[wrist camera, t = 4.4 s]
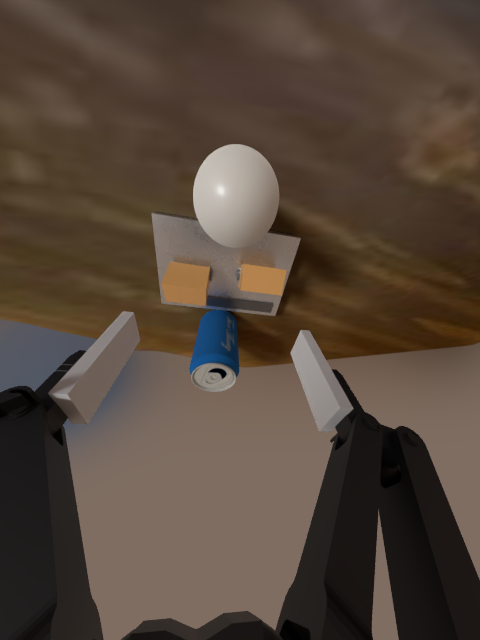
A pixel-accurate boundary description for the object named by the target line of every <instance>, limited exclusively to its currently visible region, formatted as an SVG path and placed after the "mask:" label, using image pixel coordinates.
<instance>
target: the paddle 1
mask: <svg viewBox="0 0 480 640" xmlns="http://www.w3.org/2000/svg"><path fill="white" fill-rule="evenodd" d="M209 281H212V272H211V271H210V267H206V266H198V265H191V264H184V263H177V262H169V265H168V267H167V270H166V273H165V275H164V278H163V281H162V283H161V286H162V289H163V293H164V296H165V300H166V301H167V302H176V303H185V304H194V305H203V306H206V302H207V296H208V290H209Z"/></svg>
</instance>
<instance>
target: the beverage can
mask: <svg viewBox="0 0 480 640" xmlns="http://www.w3.org/2000/svg"><path fill="white" fill-rule="evenodd" d="M190 373H191V379H192V382H193V383H194V385H195V386H196V387H198V388H200V389H202V390H205V391H210V392H218V391H224V390H226V389H229V388H230V387H232V386H233V385H234V383H235V381H236V378H237V376H238V373H239V356H238V333H237V321H236V319H235V317H234V316H233V315H232V314H231V313H229V312H227V311H224V310H212V311H209V312H207V313H206V314H205V315H204V316H203V317H202V319H201V322H200V326H199V330H198V335H197V339H196V343H195V347H194V351H193V356H192V360H191V364H190Z"/></svg>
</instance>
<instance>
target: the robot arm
mask: <svg viewBox="0 0 480 640" xmlns="http://www.w3.org/2000/svg"><path fill="white" fill-rule="evenodd" d="M139 341H140V337H139V333H138V328H137V323H136V319H135V314H134V312H124V311H123V312H122V313H121V314H120V315H119V317H118V318H117V319H116V320H115V321H114V322H113V323H112V324H111V325H110V326H109V327H108V329H107V330H106V331H105V332H104V333H103V334H102V335H101V336H100V337H99V338H98V339H97V341H96V342H95V343H94V344H93V345H92V346H91V347H90V348H89V349H88V350H87V351H82V350H80V351H78V352H76V353H74V354H73V355H71V356H70V357H69V358H67V359H66V361H65V362H64V363H63V364H62V365H61V366H60V367H59V368H58V369H57V370H56V372H54V373H53V374H52V375H51V376H50V377H49V378H48V379H47V380H46V381H45V382H44V383H43V384H42V385H41V386H40V387H39V388H38V389H37V390H36V391H35V392H34V391H33V390H32V389H31V388H30V387H27V386H17V387H13V388H9V389H7V390H5V391H3V392H0V640H103V634H102V628H101V622H100V617H99V613H98V609H97V606H96V604H95V602H94V600H93V599H92V596H91V592H90V587H89V581H88V575H87V568H86V562H85V555H84V549H83V543H82V537H81V530H80V524H79V517H78V512H77V505H76V499H75V492H74V486H73V480H72V474H71V468H70V461H69V454H68V448H67V442H66V435H65V429H64V427H63V424H64V422H65V421H66V420H67V418H68V419H69V421H70V422H71V423H72V424H88V423H89V422H90V420H91V418H92V417H93V415H94V413H95V412H96V410H97V409H98V407H99V405H100V404H101V402H102V401H103V399H104V397H105V396H106V394H107V392H108V391H109V389H110V388H111V386H112V385H113V383H114V381H115V380H116V378H117V376H118V375H119V373H120V372H121V370H122V368H123V367H124V365H125V363H126V362H127V360H128V359H129V357H130V356H131V354H132V352H133V351H134V349H135V348H136V346H137V344H138V343H139ZM291 356H292V359H293V362H294V364H295V367H296V370H297V372H298V375H299V378H300V381H301V383H302V386H303V389H304V391H305V394H306V397H307V399H308V402H309V405H310V408H311V410H312V413H313V416H314V419H315V421H316V424H317V427H318V430H319V431H320V432H331V431H332V430H333V429H334V428H336V430H337V432H338V433H337V434H336V435H335V436H334V437H333V438H332V439H331V441H330V442H333V441H334V443H333V447H332V450H331V454H330V458H329V461H328V464H327V468H326V471H325V475H324V479H323V482H322V486H321V489H320V493H319V496H318V500H317V503H316V507H315V510H314V514H313V517H312V521H311V525H310V528H309V532H308V535H307V539H306V543H305V546H304V550H303V553H302V556H301V560H300V563H299V567H298V570H297V574H296V577H295V580H294V582H293V584H292V585H291V587H290V588H289V590H288V593H287V595H286V597H285V600H284V603H283V606H282V610H281V613H280V617H279V620H278V623H277V627H276V630H274V629H272V628H271V627H270V626H268V625H267V624H266V623H264V622H263V621H262V620H261V619H259V618H258V617H256V616H255V615H253V614H251V613H250V612H248V611H244V612H233V613H223V614H222V615H220V616H218V617H217V618H215V619H213V620H212V621H210V622H208V623H207V624H205V625H203V626H202V627H200V628H198V629H194V628H191V627H189V626H187V625H185V624H182V623H180V622H178V621H176V620H173V619H171V618H169V619H158V620H147V621H143V622H142V623H141V624H140V625H139V626H138V627H137V628H136V629H134V630H133V631H131V632H130V633H129V634H127V635H126V636H125V637H123V638H122V639H121V640H373V637H372V609H373V608H372V607H373V592H374V575H375V558H376V557H375V556H376V541H377V524H378V508H379V514H380V520H381V527H382V533H383V540H384V546H385V553H386V559H387V565H388V572H389V579H390V585H391V592H392V598H393V604H394V611H395V617H396V624H397V630H398V637H399V640H480V580H479V577H478V575H477V572H476V570H475V568H474V565H473V563H472V560H471V557H470V555H469V553H468V550H467V547H466V545H465V543H464V540H463V537H462V535H461V533H460V530H459V527H458V525H457V522H456V520H455V517H454V515H453V512H452V510H451V507H450V505H449V502H448V500H447V497H446V495H445V492H444V490H443V488H442V485H441V483H440V480H439V477H438V475H437V472H436V470H435V467H434V465H433V462H432V460H431V458H430V455H429V452H428V450H427V448H426V445H425V443H424V442H423V440H422V439H421V438H420V437H419V435H418V434H416V433H415V432H414V431H413V430H411V429H409V428H407V427H404V426H399V427H397V428H396V429H392V428H389V427H386V426H384V425H381V424H380V423H379V422H378V421H377V420H376V419H375V418H374V417H373V416H371V415H370V414H368V413H365V412H364V410H363V409H362V407H361V405H360V404H359V402H358V401H357V399H356V397H355V396H354V394H353V392H352V391H351V390H350V387H349V386H348V384H347V382H346V381H345V379H344V378H343V376H342V375H341V374H340V373H339V372H338V371H337V370H333V369H331V368H330V366H329V364H328V363H327V361H326V359H325V357H324V356H323V354H322V352H321V350H320V348H319V347H318V345H317V343H316V341H315V340H314V338H313V336H312V334H311V333H310V331H307V330H301V331H300V333H299V335H298V337H297V340H296V342H295V344H294V346H293V349H292V351H291Z"/></svg>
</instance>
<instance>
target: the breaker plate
mask: <svg viewBox="0 0 480 640" xmlns="http://www.w3.org/2000/svg"><path fill="white" fill-rule="evenodd" d="M152 221H153V230H154V239H155V248H156V257H157V266H158V275H159V284H160V293H161V302H162V304H171V305H180V306H189V307H198V308H207V309H217V310H226V311H235V312H244V313H253V314H262V315H271V316H276V313H277V309H278V306H279V303H280V300H281V297H282V296H281V295H273V294H265V293H257V292H249V291H241V290H240V289H239V288H238V283H239V280H237V272H238V271H240V268H241V265H242V264H249V265H255V266H262V267H269V268H276V269H283V270H287V271H286V276H285V281H284V286H283V291H284V288H285V285H286V282H287V279H288V276H289V273H290V270H291V267H292V264H293V261H294V258H295V255H296V252H297V249H298V246H299V243H300V240H301V238H300V237H298V236H297V235H292V234H287V233H281V232H275V231H268V232H267V233H266V234H265V235H264V236H263V237H262V238H261V239H260V240H259V241H257V242H256V243H254V244H252V245H250V246H247V247H242V248H231V247H226V246H224V245H221V244H219V243H217V242H216V241H214V240H213V239H212V238H211V237H210V236H208V234H207V233H206V232H205V231H204V229H203V228H202V226H201V225H200V223H199V221H198V218H193V217H187V216H181V215H176V214H170V213H164V212H158V211H157V212H153V213H152ZM169 262H177V263H184V264H191V265H198V266H206V267H210V271H211V272H212V281H209V290H208V296H207V302H206V306H203V305H194V304H185V303H176V302H167V301H166V300H165V296H164V293H163V289H162V286H161V283H162V281H163V278H164V275H165V273H166V270H167V267H168V265H169ZM283 291H282V294H283Z"/></svg>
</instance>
